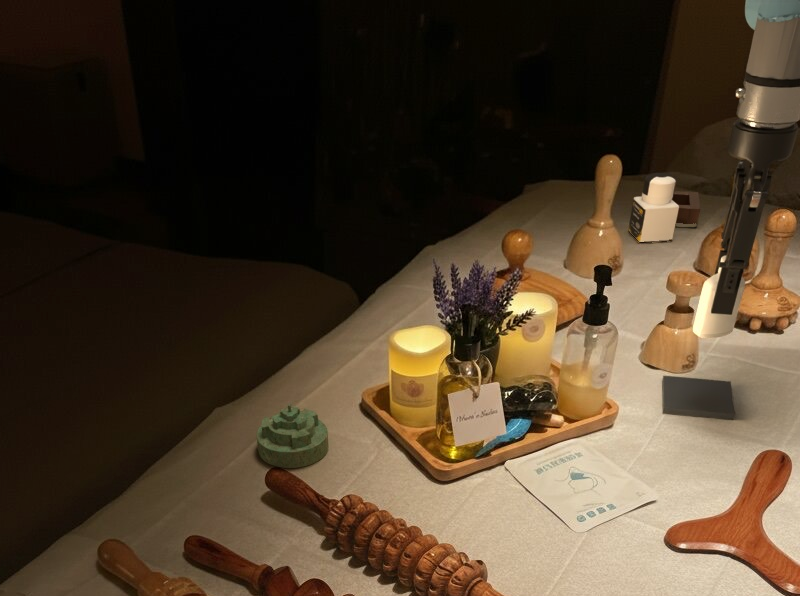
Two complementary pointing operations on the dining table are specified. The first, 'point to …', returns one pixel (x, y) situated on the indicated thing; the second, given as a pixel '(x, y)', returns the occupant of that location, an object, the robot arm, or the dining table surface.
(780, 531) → the dining table surface
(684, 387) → the coaster
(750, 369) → the dining table surface
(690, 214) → the holder
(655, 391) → the dining table surface
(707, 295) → the eye dropper bottle
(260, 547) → the dining table surface
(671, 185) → the medicine bottle
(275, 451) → the decorative artifact
